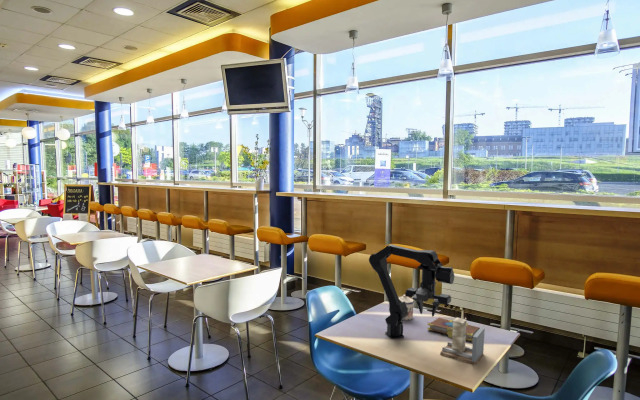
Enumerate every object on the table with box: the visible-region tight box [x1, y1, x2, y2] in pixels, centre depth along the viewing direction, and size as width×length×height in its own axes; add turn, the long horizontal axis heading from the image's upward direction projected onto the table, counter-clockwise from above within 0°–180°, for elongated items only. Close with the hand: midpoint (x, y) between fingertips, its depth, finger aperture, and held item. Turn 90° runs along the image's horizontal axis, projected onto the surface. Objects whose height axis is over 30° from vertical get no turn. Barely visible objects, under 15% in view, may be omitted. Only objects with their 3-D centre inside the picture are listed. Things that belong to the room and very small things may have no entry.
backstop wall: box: [471, 327, 485, 362], centre depth 160 cm, size 2×12×10 cm, turn 144°
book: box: [427, 317, 481, 342], centre depth 189 cm, size 16×25×5 cm, turn 53°
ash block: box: [451, 317, 467, 352], centre depth 165 cm, size 4×5×13 cm
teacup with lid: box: [398, 294, 415, 321], centre depth 207 cm, size 12×9×12 cm
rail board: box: [439, 341, 484, 365], centre depth 164 cm, size 14×12×2 cm
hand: (427, 315), depth 173 cm, fingers open, 5 cm apart
